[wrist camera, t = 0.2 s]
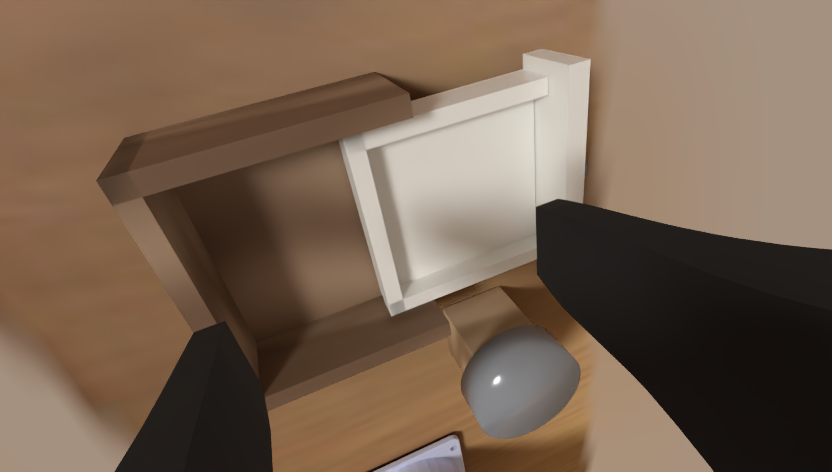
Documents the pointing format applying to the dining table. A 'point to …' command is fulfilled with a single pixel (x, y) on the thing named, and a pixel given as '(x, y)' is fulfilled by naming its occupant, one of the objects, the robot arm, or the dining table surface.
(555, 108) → the white drawer
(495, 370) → the grey dome
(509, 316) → the wooden block
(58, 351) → the dining table surface
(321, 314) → the open square box
